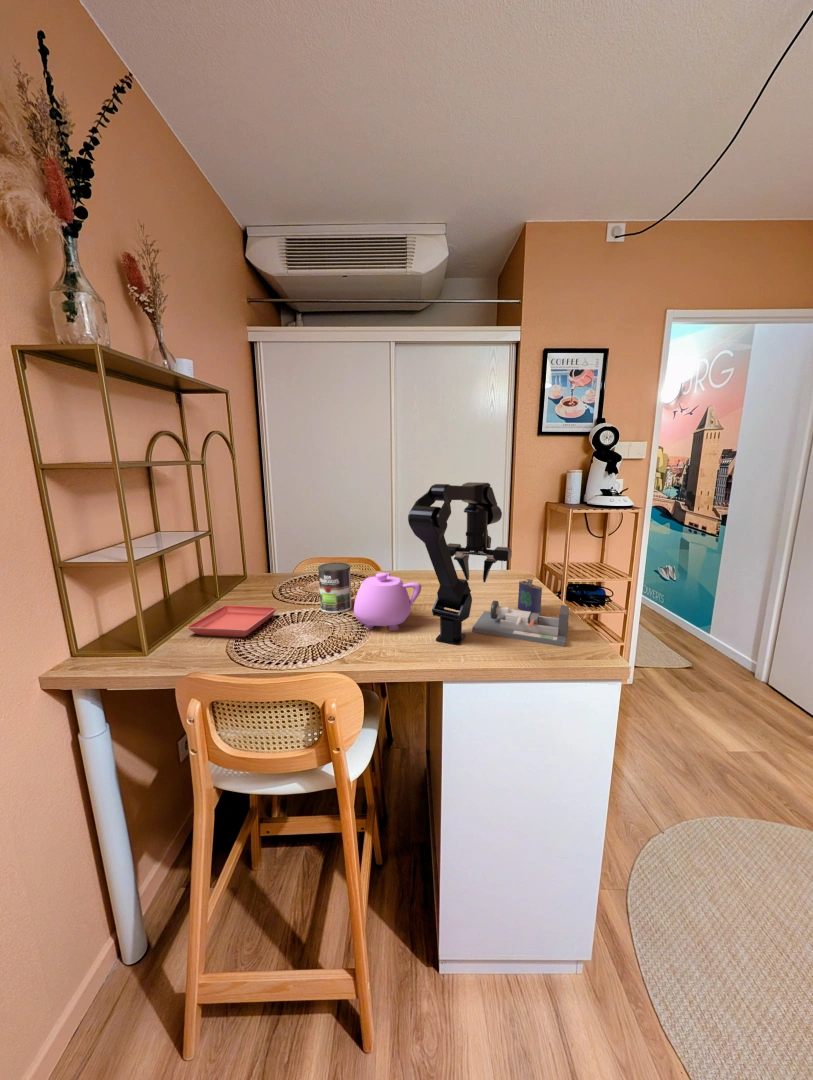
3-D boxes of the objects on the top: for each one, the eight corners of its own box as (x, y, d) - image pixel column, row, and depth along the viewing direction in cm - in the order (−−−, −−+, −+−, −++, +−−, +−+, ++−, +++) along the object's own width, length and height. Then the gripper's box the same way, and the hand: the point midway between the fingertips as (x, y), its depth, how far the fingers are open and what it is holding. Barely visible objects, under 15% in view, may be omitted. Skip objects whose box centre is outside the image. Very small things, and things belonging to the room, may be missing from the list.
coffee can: (343, 614, 126) (341, 571, 123) (314, 611, 129) (311, 569, 126) (357, 604, 135) (355, 563, 133) (329, 601, 138) (327, 561, 136)
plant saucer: (225, 614, 129) (224, 604, 128) (278, 616, 126) (277, 606, 125) (186, 638, 111) (185, 627, 111) (247, 641, 108) (246, 630, 108)
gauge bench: (472, 631, 112) (472, 606, 110) (484, 614, 124) (485, 592, 123) (564, 646, 102) (566, 619, 101) (568, 626, 114) (569, 602, 113)
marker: (526, 634, 106) (527, 624, 105) (531, 622, 114) (532, 612, 114) (533, 635, 105) (534, 625, 104) (538, 622, 113) (538, 613, 113)
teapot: (424, 609, 130) (423, 563, 127) (419, 635, 110) (419, 582, 107) (363, 608, 132) (362, 563, 129) (349, 633, 112) (346, 581, 109)
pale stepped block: (486, 628, 110) (487, 608, 109) (494, 616, 118) (494, 598, 117) (525, 634, 106) (526, 613, 105) (530, 621, 114) (531, 602, 113)
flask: (542, 616, 122) (544, 582, 120) (535, 617, 121) (536, 583, 119) (522, 606, 131) (523, 574, 129) (514, 608, 129) (515, 575, 128)
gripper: (515, 525, 117) (514, 577, 119) (454, 522, 124) (453, 571, 127) (508, 531, 107) (506, 587, 110) (441, 527, 114) (441, 580, 117)
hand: (476, 581), depth 116 cm, fingers open, 5 cm apart
